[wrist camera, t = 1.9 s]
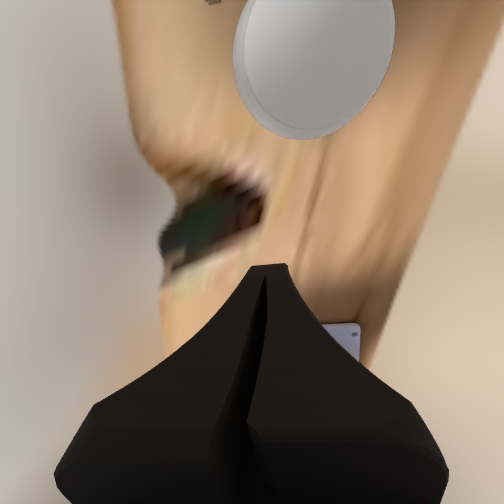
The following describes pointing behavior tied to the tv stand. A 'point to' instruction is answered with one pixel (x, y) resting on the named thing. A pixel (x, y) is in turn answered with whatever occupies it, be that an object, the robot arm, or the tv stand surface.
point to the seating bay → (212, 1)
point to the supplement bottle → (311, 61)
